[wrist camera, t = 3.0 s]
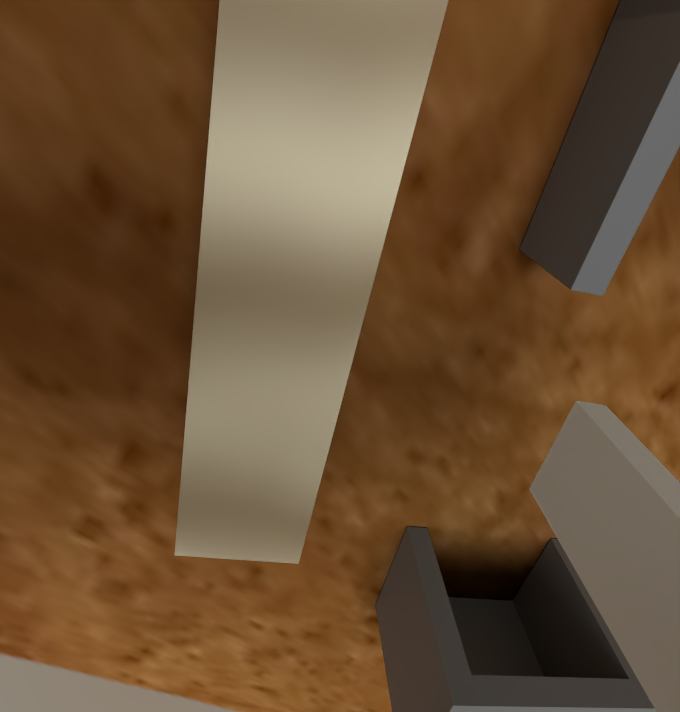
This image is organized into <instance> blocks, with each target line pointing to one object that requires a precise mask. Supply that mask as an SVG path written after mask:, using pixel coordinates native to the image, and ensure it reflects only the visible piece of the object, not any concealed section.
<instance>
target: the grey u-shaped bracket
mask: <svg viewBox="0 0 680 712" xmlns="http://www.w3.org/2000/svg"><path fill="white" fill-rule="evenodd" d="M679 146H680V0H620V3H619V5H618V8H617V10H616V13H615V15H614V18H613V20H612V23H611V25H610V27H609V30H608V32H607V35H606V37H605V40H604V42H603V45H602V47H601V50H600V52H599V55H598V57H597V60H596V62H595V65H594V67H593V69H592V72H591V74H590V77H589V79H588V82H587V84H586V87H585V89H584V92H583V94H582V97H581V99H580V102H579V104H578V106H577V109H576V111H575V114H574V116H573V119H572V121H571V124H570V126H569V129H568V131H567V134H566V136H565V139H564V141H563V143H562V146H561V148H560V151H559V153H558V156H557V158H556V161H555V163H554V166H553V168H552V171H551V173H550V176H549V178H548V180H547V183H546V185H545V188H544V190H543V193H542V195H541V198H540V200H539V203H538V205H537V208H536V210H535V213H534V215H533V217H532V220H531V222H530V225H529V227H528V230H527V232H526V235H525V237H524V240H523V242H522V245H521V247H520V251H522V252H523V253H524V254H526V255H527V256H528V257H529V258H531V259H532V260H533V261H535V262H536V263H537V264H538V265H540V266H541V267H542V268H544V269H545V270H546V271H547V272H549V273H550V274H551V275H553V276H554V277H555V278H556V279H558V280H559V281H560V282H562V283H563V284H564V285H565V286H567V287H568V288H569V289H570V290H575V291H580V292H585V293H591V294H596V295H601V296H603V294H604V292H605V290H606V289H607V287H608V285H609V283H610V281H611V279H612V277H613V275H614V273H615V271H616V269H617V267H618V265H619V263H620V261H621V259H622V257H623V255H624V253H625V252H626V250H627V248H628V246H629V244H630V242H631V240H632V238H633V236H634V234H635V232H636V230H637V228H638V226H639V224H640V222H641V220H642V218H643V216H644V215H645V213H646V211H647V209H648V207H649V205H650V203H651V201H652V199H653V197H654V195H655V193H656V191H657V189H658V187H659V185H660V183H661V181H662V180H663V178H664V176H665V174H666V172H667V170H668V168H669V166H670V164H671V162H672V160H673V158H674V156H675V154H676V152H677V150H678V148H679Z"/></svg>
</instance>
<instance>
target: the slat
mask: <svg viewBox="0 0 680 712" xmlns="http://www.w3.org/2000/svg"><path fill="white" fill-rule="evenodd" d="M447 4H448V0H220V2H219V14H218V27H217V39H216V51H215V64H214V76H213V88H212V101H211V113H210V125H209V138H208V150H207V162H206V175H205V187H204V199H203V212H202V224H201V236H200V249H199V261H198V273H197V286H196V298H195V310H194V323H193V335H192V347H191V360H190V372H189V384H188V396H187V409H186V421H185V433H184V446H183V458H182V470H181V483H180V495H179V507H178V520H177V532H176V544H175V555H177V556H192V557H207V558H221V559H236V560H250V561H265V562H280V563H294V564H299V560H300V556H301V553H302V549H303V545H304V541H305V538H306V534H307V530H308V526H309V523H310V519H311V515H312V511H313V508H314V504H315V500H316V496H317V493H318V489H319V485H320V481H321V478H322V474H323V470H324V466H325V463H326V459H327V455H328V451H329V448H330V444H331V440H332V436H333V433H334V429H335V425H336V421H337V417H338V414H339V410H340V406H341V402H342V399H343V395H344V391H345V387H346V384H347V380H348V376H349V372H350V369H351V365H352V361H353V357H354V354H355V350H356V346H357V342H358V339H359V335H360V331H361V327H362V324H363V320H364V316H365V312H366V309H367V305H368V301H369V297H370V293H371V290H372V286H373V282H374V278H375V275H376V271H377V267H378V263H379V260H380V256H381V252H382V248H383V245H384V241H385V237H386V233H387V230H388V226H389V222H390V218H391V215H392V211H393V207H394V203H395V200H396V196H397V192H398V188H399V185H400V181H401V177H402V173H403V170H404V166H405V162H406V158H407V154H408V151H409V147H410V143H411V139H412V136H413V132H414V128H415V124H416V121H417V117H418V113H419V109H420V106H421V102H422V98H423V94H424V91H425V87H426V83H427V79H428V76H429V72H430V68H431V64H432V61H433V57H434V53H435V49H436V46H437V42H438V38H439V34H440V31H441V27H442V23H443V19H444V15H445V12H446V8H447Z"/></svg>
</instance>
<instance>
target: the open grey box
mask: <svg viewBox="0 0 680 712" xmlns="http://www.w3.org/2000/svg"><path fill="white" fill-rule="evenodd" d="M375 606H376V612H377V618H378V624H379V631H380V637H381V643H382V650H383V656H384V662H385V668H386V675H387V681H388V687H389V694H390V700H391V706H392V712H656V710H655V708H654V706H653V705H652V703H651V701H650V700H649V698H648V696H647V694H646V693H645V691H644V689H643V687H642V686H641V684H640V682H639V680H638V679H637V677H636V675H635V673H634V672H633V670H632V668H631V666H630V665H629V663H628V661H627V659H626V658H625V656H624V654H623V652H622V651H621V649H620V647H619V645H618V644H617V642H616V640H615V638H614V637H613V635H612V633H611V631H610V630H609V628H608V626H607V624H606V623H605V621H604V619H603V617H602V616H601V614H600V612H599V610H598V609H597V607H596V605H595V603H594V602H593V600H592V598H591V596H590V595H589V593H588V591H587V589H586V588H585V586H584V584H583V582H582V581H581V579H580V577H579V575H578V574H577V572H576V570H575V568H574V567H573V565H572V563H571V561H570V560H569V558H568V556H567V554H566V553H565V551H564V549H563V548H562V546H561V544H560V542H559V541H558V539H550V541H549V543H548V544H547V546H546V547H545V549H544V551H543V552H542V554H541V556H540V557H539V559H538V560H537V562H536V564H535V565H534V567H533V568H532V570H531V572H530V573H529V575H528V577H527V578H526V580H525V581H524V583H523V585H522V586H521V588H520V589H519V591H518V593H517V594H516V596H515V598H514V599H513V601H508V600H490V599H473V598H456V597H448V595H447V592H446V588H445V585H444V582H443V578H442V575H441V572H440V568H439V565H438V562H437V558H436V555H435V552H434V548H433V545H432V542H431V538H430V535H429V532H428V528H420V527H408V526H407V528H406V531H405V533H404V536H403V538H402V541H401V543H400V546H399V548H398V551H397V553H396V556H395V558H394V560H393V563H392V565H391V568H390V570H389V573H388V575H387V578H386V580H385V583H384V585H383V588H382V590H381V593H380V595H379V597H378V600H377V602H376V605H375Z"/></svg>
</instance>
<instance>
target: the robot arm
mask: <svg viewBox="0 0 680 712" xmlns="http://www.w3.org/2000/svg"><path fill="white" fill-rule="evenodd" d="M529 490H530V492H531V493H532V495H533V497H534V499H535V500H536V502H537V504H538V506H539V507H540V509H541V511H542V513H543V514H544V516H545V518H546V520H547V521H548V523H549V525H550V527H551V528H552V530H553V532H554V534H555V535H556V537H557V539H558V541H559V542H560V544H561V546H562V548H563V549H564V551H565V553H566V554H567V556H568V558H569V560H570V561H571V563H572V565H573V567H574V568H575V570H576V572H577V574H578V575H579V577H580V579H581V581H582V582H583V584H584V586H585V588H586V589H587V591H588V593H589V595H590V596H591V598H592V600H593V602H594V603H595V605H596V607H597V609H598V610H599V612H600V614H601V616H602V617H603V619H604V621H605V623H606V624H607V626H608V628H609V630H610V631H611V633H612V635H613V637H614V638H615V640H616V642H617V644H618V645H619V647H620V649H621V651H622V652H623V654H624V656H625V658H626V659H627V661H628V663H629V665H630V666H631V668H632V670H633V672H634V673H635V675H636V677H637V679H638V680H639V682H640V684H641V686H642V687H643V689H644V691H645V693H646V694H647V696H648V698H649V700H650V701H651V703H652V705H653V706H654V708H655V710H656V712H680V482H679V481H678V480H677V479H676V478H675V477H674V476H673V475H672V474H671V473H670V472H669V471H668V470H667V469H666V468H665V467H664V466H663V465H662V464H661V463H660V462H659V461H658V459H657V458H656V457H655V456H654V455H653V454H652V453H651V452H650V451H649V450H648V449H647V448H646V447H645V446H644V445H643V444H642V443H641V442H640V441H639V440H638V439H637V438H636V436H635V435H634V434H633V433H632V432H631V431H630V430H629V429H628V428H627V427H626V426H625V425H624V424H623V423H622V422H621V421H620V420H619V419H618V418H617V417H616V416H615V415H614V414H613V412H612V411H611V410H610V409H609V408H608V407H607V406H606V405H601V404H594V403H587V402H581V401H576V402H575V404H574V406H573V408H572V409H571V411H570V413H569V415H568V417H567V419H566V421H565V423H564V424H563V426H562V428H561V430H560V432H559V434H558V436H557V438H556V440H555V441H554V443H553V445H552V447H551V449H550V451H549V453H548V455H547V456H546V458H545V460H544V462H543V464H542V466H541V468H540V470H539V471H538V473H537V475H536V477H535V479H534V481H533V483H532V485H531V487H530V488H529Z"/></svg>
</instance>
